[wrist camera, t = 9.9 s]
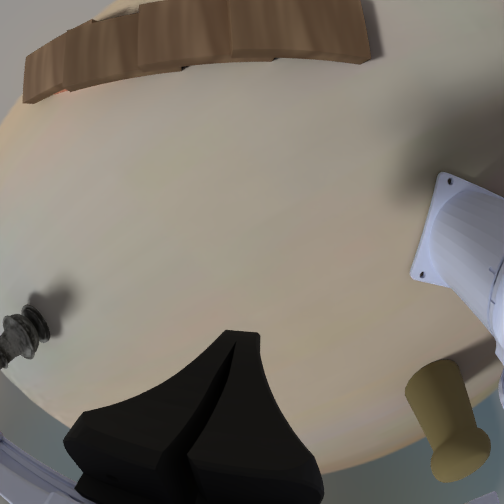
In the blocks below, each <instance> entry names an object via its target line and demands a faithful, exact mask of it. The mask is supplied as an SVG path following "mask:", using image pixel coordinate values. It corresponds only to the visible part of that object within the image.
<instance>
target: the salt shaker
mask: <svg viewBox="0 0 504 504" xmlns="http://www.w3.org/2000/svg"><path fill="white" fill-rule="evenodd" d="M3 328H4V332H3V333H2V335H1V336H0V369H2V368H5V369H7V368H8V363H9V362H10V361H11V360H13V359H14V358H15V357H17V356H19V355H21V356H23V357H24V358H27V359H32V358H33V357H34V354H35V352H36V351H37V348H38V345H39V341H40V342H43V343H46V342H47V341H48V340H49V338H50V333H49V329H48V326H47V324H46V322H45V320H44V319H43V317H42V316H41V314H40V313H39V312H38V311H37V310H36V309H35V308H34V307H32V306H30V305H25V306H23V308H22V315H20V314H14V315H11V316H8V315H7V316H5V317H4V319H3Z"/></svg>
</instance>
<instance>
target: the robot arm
mask: <svg viewBox="0 0 504 504" xmlns="http://www.w3.org/2000/svg"><path fill="white" fill-rule="evenodd" d="M449 178H450V179H451V183H450V184H448V179H449ZM421 272H424V274H423V275H422V276H420V273H421ZM410 276H411V277H412V278H413V279H414V280H418V281H422V282H427V283H431V284H435V285H440V286H444V287H448V288H452V290H453V291H454V292H455V293H456V294H457V295H458V296H459V297H460V298H461V299H462V300H463V301H464V303H465V304H466V305H467V306H468V307H469V308H470V309H471V310H472V312H473V313H474V314H475V315H476V316H477V317H478V318H479V320H480V321H481V322H482V323H483V324H484V326H485V327H486V328H487V329H488V330H489V332H490V333H491V334H492V335H493V336H494V338H495V340H496V351H495V354H496V355H497V357H498V358H499V359H500V361H501V362H502V364H503V365H504V198H503V197H501V196H499V195H497V194H495V193H493V192H491V191H488V190H486V189H484V188H482V187H480V186H478V185H475V184H473V183H471V182H468V181H466V180H464V179H461V178H459V177H456V176H454V175H452V174H449V173H446V172H440V173H439V174H438V176H437V180H436V184H435V188H434V193H433V197H432V201H431V204H430V208H429V212H428V216H427V219H426V223H425V226H424V230H423V233H422V236H421V239H420V243H419V246H418V249H417V252H416V255H415V258H414V261H413V264H412V267H411V269H410ZM499 397H500V401H501V404H502V407H503V409H504V369H503V371H502V374H501V377H500V381H499ZM63 443H64V446H65V449H66V451H67V452H68V454H69V455H70V456H71V458H72V459H73V460H74V462H75V463H76V464H77V465H78V467H79V468H80V469H81V470H82V472H83V474H82V476H81V478H80V479H79V481H78V483H77V482H75V481H73V480H71V479H69V478H67V477H65V476H64V475H62V474H60V473H58V472H56V471H55V470H53V469H51V468H50V467H48V466H46V465H45V464H43V463H41V462H40V461H38V460H37V459H35V458H34V457H32V456H31V455H29V454H28V453H26V452H25V451H23V450H22V449H20V448H19V447H17V446H16V445H15V444H13V443H12V442H11V441H9V440H8V439H6V438H5V437H4V436H3V434H2V433H1V431H0V495H1V496H2V497H3V498H4V499H6V500H7V501H8V502H9V503H10V504H320V503H321V501H322V499H323V497H324V486H323V481H322V477H321V474H320V471H319V468H318V465H317V462H316V460H315V457H314V456H313V455H312V453H311V452H310V451H309V450H308V449H307V448H306V447H305V445H304V444H303V443H302V442H301V441H300V439H299V438H298V437H297V435H296V434H295V433H294V431H293V430H292V428H291V427H290V425H289V424H288V422H287V420H286V419H285V417H284V416H283V414H282V412H281V411H280V409H279V407H278V405H277V403H276V401H275V399H274V396H273V394H272V392H271V390H270V387H269V384H268V382H267V379H266V376H265V373H264V369H263V365H262V361H261V356H260V335H259V334H258V333H257V332H244V331H233V330H225V331H224V332H223V333H222V334H221V335H220V336H219V337H218V338H217V339H216V340H215V341H214V342H213V343H212V344H211V345H210V346H209V347H208V348H207V349H206V350H205V351H204V352H202V353H201V354H200V355H199V356H198V357H197V358H196V359H195V360H193V361H192V362H191V363H190V364H188V365H187V366H186V367H185V368H183V369H182V370H181V371H180V372H178V373H177V374H175V375H174V376H172V377H171V378H169V379H168V380H166V381H165V382H163V383H161V384H160V385H158V386H156V387H154V388H152V389H150V390H148V391H146V392H144V393H142V394H140V395H138V396H135V397H133V398H130V399H128V400H125V401H122V402H119V403H116V404H113V405H110V406H106V407H102V408H98V409H94V410H90V411H85V412H83V413H82V414H81V416H80V417H79V418H78V419H77V421H76V422H75V424H74V425H73V426H72V428H71V429H70V431H69V432H68V433H67V435H66V436H65V438H64V440H63ZM465 504H500V503H499V499H498V496H497V493H496V491H493V492H491V493H488V494H486V495H484V496H481V497H479V498H476V499H474V500H471V501H469V502H467V503H465Z"/></svg>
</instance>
